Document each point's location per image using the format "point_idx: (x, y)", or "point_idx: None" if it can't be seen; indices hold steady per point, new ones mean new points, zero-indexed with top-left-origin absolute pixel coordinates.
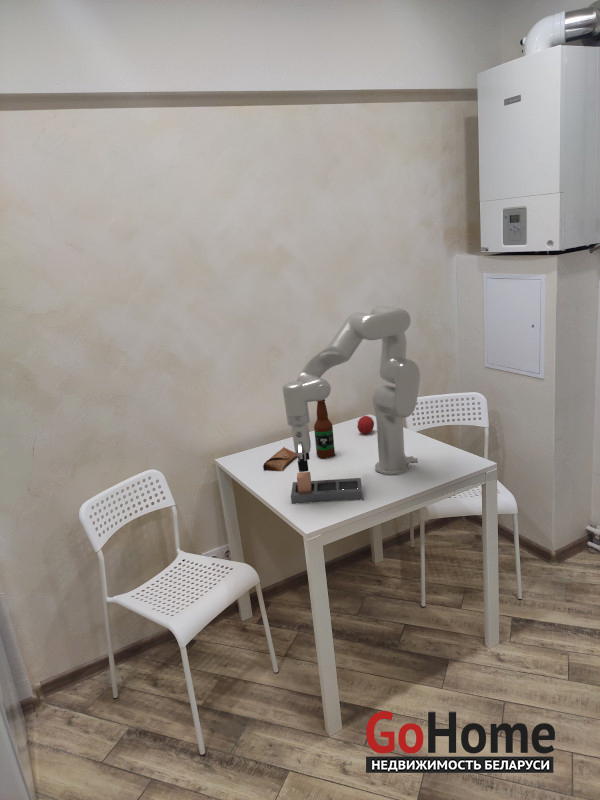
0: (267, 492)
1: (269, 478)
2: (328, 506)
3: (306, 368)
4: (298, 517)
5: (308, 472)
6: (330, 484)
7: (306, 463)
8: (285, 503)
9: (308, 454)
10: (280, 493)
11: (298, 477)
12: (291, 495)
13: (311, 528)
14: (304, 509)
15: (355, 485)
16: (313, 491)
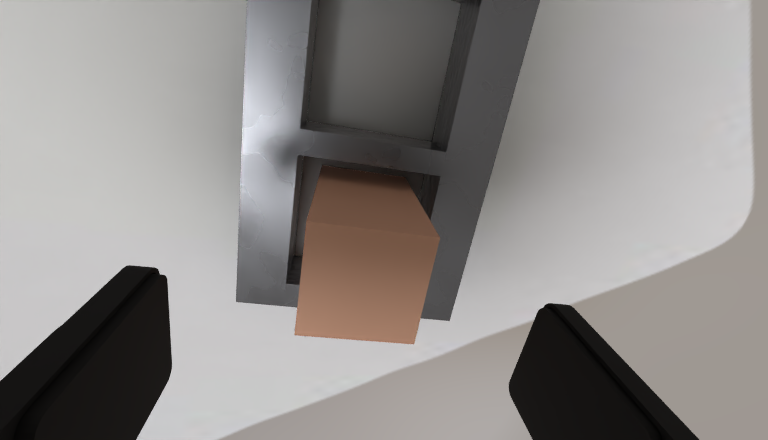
0: (255, 396)
1: None
2: (556, 86)
3: None
4: (599, 266)
5: (320, 238)
6: (311, 11)
7: (643, 401)
8: None
9: (115, 329)
10: (283, 339)
11: (412, 331)
12: (446, 316)
13: (738, 215)
14: (528, 231)
15: None
16: (442, 178)
